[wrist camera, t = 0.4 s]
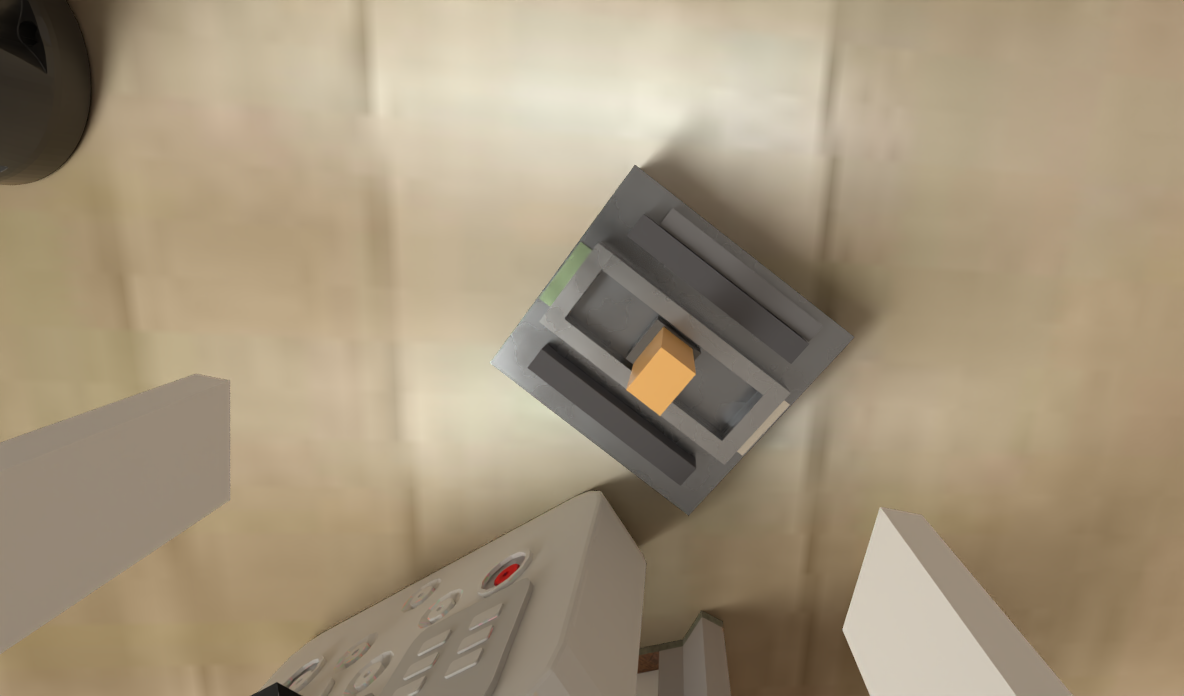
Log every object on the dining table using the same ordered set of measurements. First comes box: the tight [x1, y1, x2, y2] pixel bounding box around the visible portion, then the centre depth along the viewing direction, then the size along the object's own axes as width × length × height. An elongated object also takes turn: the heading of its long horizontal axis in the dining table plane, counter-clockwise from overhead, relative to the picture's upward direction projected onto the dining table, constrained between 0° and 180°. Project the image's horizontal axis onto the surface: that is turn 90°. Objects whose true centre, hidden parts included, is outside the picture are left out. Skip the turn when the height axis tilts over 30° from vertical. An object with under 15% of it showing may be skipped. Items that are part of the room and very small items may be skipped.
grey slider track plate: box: [527, 208, 823, 486], centre depth 32 cm, size 11×12×1 cm
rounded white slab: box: [251, 491, 646, 696], centre depth 34 cm, size 29×8×18 cm, turn 123°
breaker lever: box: [626, 316, 701, 416], centre depth 30 cm, size 3×3×6 cm
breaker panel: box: [490, 165, 854, 516], centre depth 34 cm, size 15×14×4 cm
